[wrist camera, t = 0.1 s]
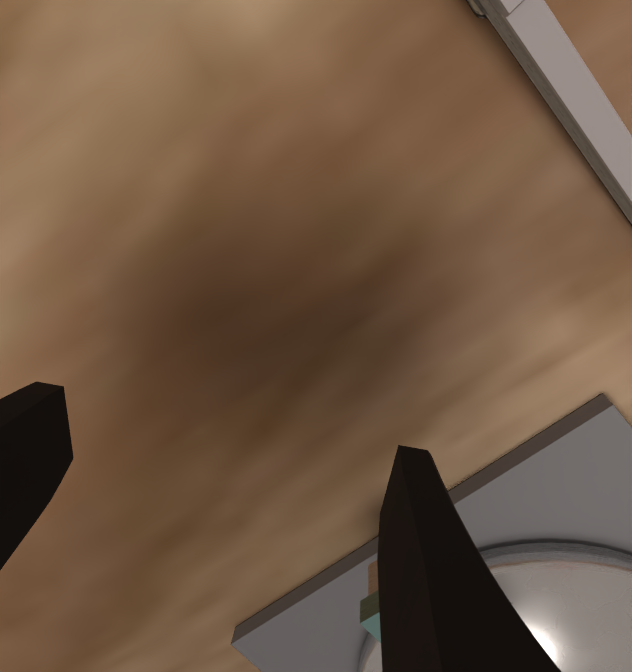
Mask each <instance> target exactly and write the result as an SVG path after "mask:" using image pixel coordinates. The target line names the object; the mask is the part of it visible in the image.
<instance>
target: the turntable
mask: <svg viewBox="0 0 632 672" xmlns="http://www.w3.org/2000/svg"><path fill="white" fill-rule="evenodd" d="M479 553H480V554H481V556H482V558H483V560H484V561H485V563H486V565H487V566H488V568H489V569H490V571H491V573H492V574H493V576H494V578H495V579H496V581H497V583H498V584H499V586H500V587H501V589H502V590H503V592H504V593H505V595H506V596H507V598H508V599H509V601H510V602H511V604H512V605H513V607H514V608H515V610H516V611H517V613H518V614H519V616H520V617H521V618H522V620H523V621H524V623H525V624H526V625H527V627H528V628H529V630H530V631H531V633H532V634H533V635H534V637H535V638H536V639H537V641H538V642H539V643H540V645H541V646H542V647H543V649H544V650H545V651H546V653H547V654H548V655H549V656H550V658H551V659H552V660H553V662H554V663H555V664H556V665H557V667H558V668H559V669H560V670H561V671H562V672H632V555H629V554H625V553H622V552H618V551H614V550H611V549H607V548H602V547H595V546H589V545H583V544H572V543H553V542H549V543H528V544H519V545H512V546H505V547H499V548H494V549H490V550H486V551H482V552H479ZM360 624H361V625H362V626H363V627H364V628H365V629H366V630H367V631H368V632H369V633H368V635H367V638H366V640H365V643H364V645H363V648H362V652H361V656H360V661H359V669H358V672H382V655H381V634H380V613H379V591H378V568H377V560H375V561H374V562H372V563H371V564H369V565H368V596H367V597H366V598H364V599H362V600H361V601H360Z"/></svg>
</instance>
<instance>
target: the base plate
mask: <svg viewBox="0 0 632 672" xmlns="http://www.w3.org/2000/svg"><path fill="white" fill-rule="evenodd" d="M448 494H449V496H450V498H451V500H452V502H453V504H454V506H455V508H456V510H457V512H458V514H459V516H460V518H461V520H462V522H463V524H464V525H465V527H466V529H467V531H468V533H469V535H470V537H471V538H472V540H473V542H474V544H475V546H476V547H477V549H478V551H479V552H482V551H486V550H490V549H494V548H499V547H505V546H512V545H519V544H528V543H549V542H553V543H572V544H583V545H589V546H595V547H602V548H607V549H611V550H614V551H618V552H622V553H625V554H629V555H632V428H631V426H630V425H629V424H628V423H627V421H626V420H625V419H624V418H623V416H622V415H621V414H620V413H619V411H618V410H617V409H616V408H615V406H614V405H613V404H612V403H611V402H610V401H609V400H608V399H607V397H606V396H605V395H604V394H603V393H602V394H601V395H599V396H598V397H596V398H594V399H593V400H591V401H590V402H588V403H587V404H585V405H583V406H582V407H580V408H579V409H577V410H576V411H574V412H573V413H571V414H569V415H568V416H566V417H565V418H563V419H562V420H560V421H558V422H557V423H555V424H554V425H552V426H551V427H549V428H547V429H546V430H544V431H543V432H541V433H540V434H538V435H536V436H535V437H533V438H532V439H530V440H529V441H527V442H525V443H524V444H522V445H521V446H519V447H518V448H516V449H514V450H513V451H511V452H510V453H508V454H507V455H505V456H503V457H502V458H500V459H499V460H497V461H496V462H494V463H492V464H491V465H489V466H488V467H486V468H485V469H483V470H481V471H480V472H478V473H477V474H475V475H474V476H472V477H471V478H469V479H467V480H466V481H464V482H463V483H461V484H460V485H458V486H456V487H455V488H453V489H452V490H450V491H449V492H448ZM378 538H379V536H378V537H376V538H375V539H373V540H372V541H370V542H368V543H367V544H365V545H364V546H362V547H361V548H359V549H358V550H356V551H354V552H353V553H351V554H350V555H348V556H347V557H345V558H343V559H342V560H340V561H339V562H337V563H336V564H334V565H332V566H331V567H329V568H328V569H326V570H325V571H323V572H321V573H320V574H318V575H317V576H315V577H314V578H312V579H310V580H309V581H307V582H306V583H304V584H303V585H301V586H299V587H298V588H296V589H295V590H293V591H292V592H290V593H288V594H287V595H285V596H284V597H282V598H281V599H279V600H277V601H276V602H274V603H273V604H271V605H270V606H268V607H266V608H265V609H263V610H262V611H260V612H259V613H257V614H256V615H254V616H252V617H251V618H249V619H248V620H246V621H245V622H243V623H241V624H240V625H238V626H237V627H235V631H234V634H233V638H232V642H231V645H232V646H233V647H234V648H236V649H237V650H238V651H239V652H240V653H241V654H242V655H244V656H245V657H246V658H247V659H248V660H249V661H250V662H252V663H253V664H254V665H255V666H256V667H257V668H258V669H260V670H261V671H262V672H358V669H359V661H360V656H361V652H362V648H363V645H364V643H365V640H366V638H367V635H368V633H369V632H368V631H367V630H366V629H365V628H364V627H363V626H362V625H361V624H360V601H361V600H362V599H364V598H366V597H367V596H368V565H369V564H371V563H372V562H374V561H375V560H377V555H378Z"/></svg>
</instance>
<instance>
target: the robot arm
mask: <svg viewBox="0 0 632 672" xmlns="http://www.w3.org/2000/svg"><path fill="white" fill-rule="evenodd" d="M72 460H73V451H72V444H71V437H70V429H69V422H68V415H67V407H66V400H65V393H64V386H58V385H52V384H47V383H41V382H34V383H32V384H30V385H28V386H26V387H24V388H21V389H19V390H17V391H15V392H13V393H11V394H9V395H7V396H6V397H4V398H2V399H0V570H1V569H2V567H3V566H4V565H5V563H6V562H7V560H8V559H9V558H10V556H11V555H12V554H13V552H14V551H15V549H16V548H17V547H18V545H19V544H20V543H21V541H22V540H23V538H24V537H25V536H26V534H27V533H28V532H29V530H30V529H31V527H32V526H33V525H34V523H35V522H36V520H37V519H38V518H39V516H40V515H41V513H42V512H43V511H44V509H45V508H46V506H47V505H48V503H49V502H50V500H51V499H52V497H53V495H54V493H55V492H56V490H57V488H58V486H59V485H60V483H61V481H62V479H63V477H64V475H65V473H66V471H67V470H68V468H69V466H70V464H71V462H72ZM377 568H378V591H379V613H380V634H381V655H382V672H562V671H561V670H560V669H559V668H558V667H557V665H556V664H555V663H554V662H553V660H552V659H551V658H550V656H549V655H548V654H547V653H546V651H545V650H544V649H543V647H542V646H541V645H540V643H539V642H538V641H537V639H536V638H535V637H534V635H533V634H532V633H531V631H530V630H529V628H528V627H527V625H526V624H525V623H524V621H523V620H522V618H521V617H520V616H519V614H518V613H517V611H516V610H515V608H514V607H513V605H512V604H511V602H510V601H509V599H508V598H507V596H506V595H505V593H504V592H503V590H502V589H501V587H500V586H499V584H498V583H497V581H496V579H495V578H494V576H493V574H492V573H491V571H490V569H489V568H488V566H487V565H486V563H485V561H484V560H483V558H482V556H481V554H480V553H479V551H478V549H477V547H476V546H475V544H474V542H473V540H472V538H471V537H470V535H469V533H468V531H467V529H466V527H465V525H464V524H463V522H462V520H461V518H460V516H459V514H458V512H457V510H456V508H455V506H454V504H453V502H452V500H451V498H450V496H449V494H448V492H447V490H446V488H445V485H444V483H443V481H442V479H441V477H440V474H439V472H438V470H437V467H436V465H435V463H434V460H433V458H432V456H431V454H430V453H429V451H428V450H423V449H418V448H412V447H406V446H401V445H398V449H397V453H396V456H395V460H394V464H393V468H392V471H391V475H390V479H389V482H388V486H387V490H386V494H385V497H384V501H383V505H382V508H381V512H380V523H379V538H378V555H377Z"/></svg>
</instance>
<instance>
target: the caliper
mask: <svg viewBox="0 0 632 672" xmlns="http://www.w3.org/2000/svg"><path fill="white" fill-rule="evenodd" d="M466 1H467V3H468V4H469V6H470V7H471V9H472V11H473V12H474V13H475V15H476V16H477V17H479V18H488V20H489V21H490V23H491V24H492V26H493V27H494V28H495V30H496V31H497V33H498V34H499V36H500V37H501V38H502V40H503V41H504V43H505V44H506V46H507V47H508V48H509V50H510V51H511V53H512V54H513V56H514V57H515V58H516V60H517V61H518V63H519V64H520V66H521V67H522V68H523V70H524V71H525V73H526V74H527V76H528V77H529V78H530V80H531V81H532V83H533V84H534V86H535V87H536V88H537V90H538V91H539V93H540V94H541V96H542V97H543V98H544V100H545V101H546V103H547V104H548V106H549V107H550V108H551V110H552V111H553V113H554V114H555V116H556V117H557V118H558V120H559V121H560V123H561V124H562V126H563V127H564V128H565V130H566V131H567V133H568V134H569V136H570V137H571V139H572V140H573V141H574V143H575V144H576V146H577V147H578V149H579V150H580V151H581V153H582V154H583V156H584V157H585V159H586V160H587V161H588V163H589V164H590V166H591V167H592V169H593V170H594V171H595V173H596V174H597V176H598V177H599V179H600V180H601V182H602V183H603V184H604V186H605V187H606V189H607V190H608V192H609V193H610V195H611V196H612V197H613V199H614V200H615V202H616V203H617V205H618V206H619V207H620V209H621V210H622V212H623V213H624V215H625V216H626V218H627V219H628V220H629V222H630V223H631V225H632V136H631V134H630V133H629V131H628V130H627V128H626V126H625V125H624V123H623V122H622V120H621V119H620V117H619V116H618V114H617V112H616V111H615V109H614V108H613V106H612V105H611V103H610V102H609V100H608V99H607V97H606V95H605V94H604V92H603V91H602V89H601V88H600V86H599V85H598V83H597V81H596V80H595V78H594V77H593V75H592V74H591V72H590V71H589V69H588V67H587V66H586V64H585V63H584V61H583V60H582V58H581V57H580V55H579V54H578V52H577V50H576V49H575V47H574V46H573V44H572V43H571V41H570V40H569V38H568V36H567V35H566V33H565V32H564V30H563V29H562V27H561V26H560V24H559V22H558V21H557V19H556V18H555V16H554V15H553V13H552V12H551V10H550V9H549V7H548V5H547V4H546V2H545V1H544V0H466Z"/></svg>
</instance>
